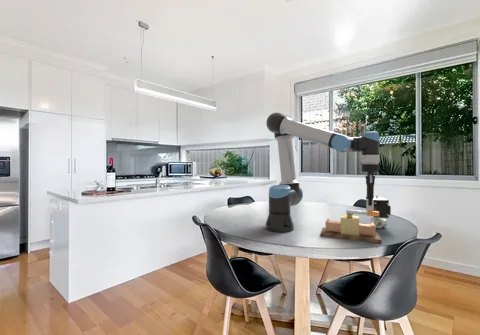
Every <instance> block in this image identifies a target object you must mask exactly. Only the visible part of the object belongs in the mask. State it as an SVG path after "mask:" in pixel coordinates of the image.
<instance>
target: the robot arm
mask: <svg viewBox="0 0 480 335" xmlns="http://www.w3.org/2000/svg"><path fill="white" fill-rule="evenodd" d="M265 126H266V127H267V129H268V131H269V132H271V133H273V134H274V135H273V136H274V140H276V141H277V148H278V150H277V151H278V158H279V160H278V161H279V169H280V178H281V180H280V181H279V184H276V185H272V186H270V187H269V189H268V216H267V219H266V222H265V229H266V230H268V231H270V232H275V233H286V232H287V233H288V232H293V231H294V230H295V229H294V228H295V226H294V222H293V219H292V216H291V207H294V206H296V205H298V204H299V203H301V201H302V200H303V197H304V194H303V189H302V188H301V187H300V181H298V180H297V175H296V166H295V165H296V164H295V155H294V146H293V139H294V138H296V137H297V138H299V139H302V140H305V141H308V142H312V143H314V144H318V145H321V146H324V147H327V148H329V149H334V150H335V151H336V152H337V153H361V156H360V160H361V163H362V164H361V171H362V172H363V173H367V174H366V175H365V185H366V196H365V200H366V199H367V211H373V198H374V197H375V196H374V191H375V188H374V187H375V181H376V176H375V175H374V173H378V172H380V165H379V163H380V133H379V132H378V131H363V132H362V134H361V136H351V137H350V136H348V135H346V134H344V133H343V134H342V133H339V132H334V131H331V130H327V129H324V128H321V127H317V126H314V125H310V124H306V123H303V122H300V121H296V120H295V119H294V118H292V117H291V116H289V115H287V114H284V113H281V112H272V113H271V114H270V115H269V116H268V117H267V119H266V125H265Z"/></svg>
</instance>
